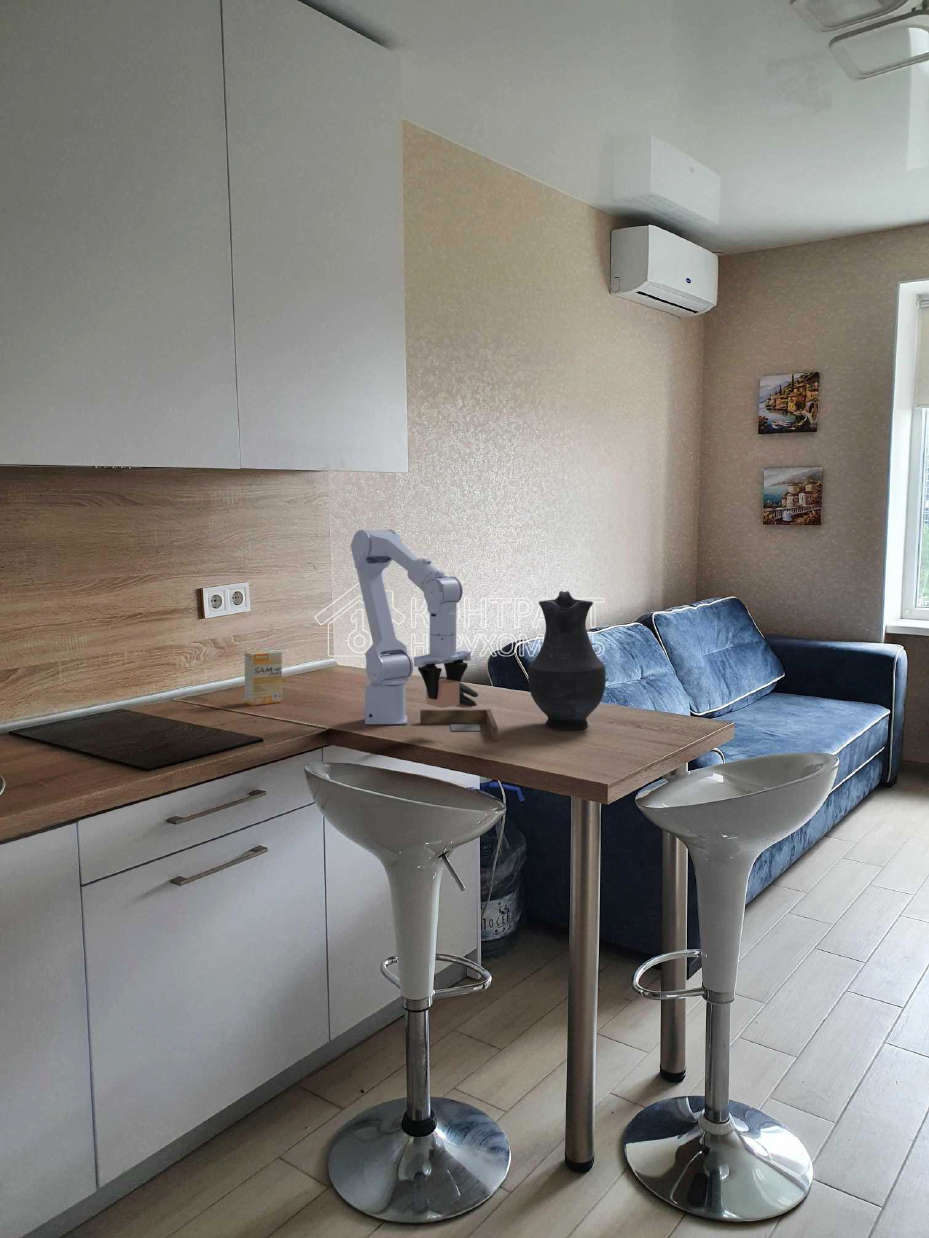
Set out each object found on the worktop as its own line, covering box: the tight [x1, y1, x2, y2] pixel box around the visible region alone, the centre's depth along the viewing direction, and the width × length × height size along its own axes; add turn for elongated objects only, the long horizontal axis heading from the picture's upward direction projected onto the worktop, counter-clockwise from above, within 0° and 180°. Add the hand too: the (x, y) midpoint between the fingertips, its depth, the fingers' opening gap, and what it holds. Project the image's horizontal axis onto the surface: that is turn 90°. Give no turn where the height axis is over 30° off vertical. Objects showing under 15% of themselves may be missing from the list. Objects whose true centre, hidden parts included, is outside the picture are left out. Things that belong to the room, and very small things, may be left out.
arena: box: [419, 708, 499, 742], centre depth 203 cm, size 16×18×3 cm
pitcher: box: [527, 590, 607, 731], centre depth 209 cm, size 17×21×30 cm
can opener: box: [439, 675, 479, 707], centre depth 238 cm, size 18×7×6 cm, turn 29°
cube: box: [425, 679, 461, 709], centre depth 198 cm, size 5×5×5 cm
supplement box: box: [244, 649, 283, 707], centre depth 232 cm, size 8×5×13 cm, turn 128°
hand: (442, 696), depth 198 cm, fingers closed on cube, 5 cm apart
